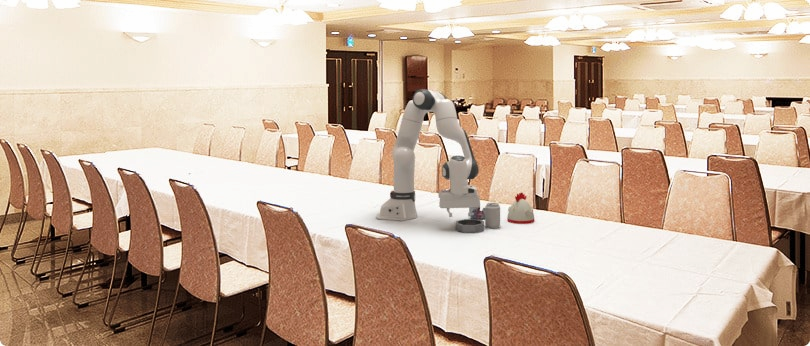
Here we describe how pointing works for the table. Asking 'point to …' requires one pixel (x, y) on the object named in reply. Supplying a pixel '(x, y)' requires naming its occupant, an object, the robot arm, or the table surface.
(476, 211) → the brake caliper
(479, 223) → the steel ring
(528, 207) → the kitchen timer
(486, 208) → the can
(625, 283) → the table surface
